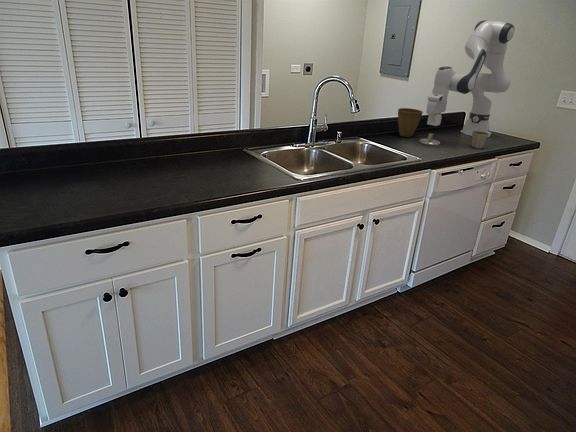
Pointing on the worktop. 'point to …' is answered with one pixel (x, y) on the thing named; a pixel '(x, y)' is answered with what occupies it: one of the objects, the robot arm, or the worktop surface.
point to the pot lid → (429, 140)
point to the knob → (435, 120)
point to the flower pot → (478, 139)
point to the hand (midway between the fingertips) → (434, 120)
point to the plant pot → (408, 121)
